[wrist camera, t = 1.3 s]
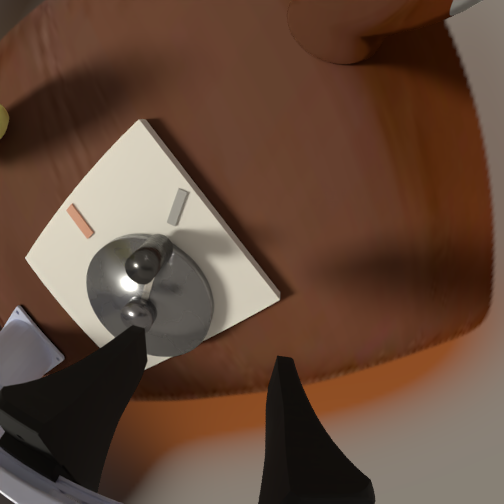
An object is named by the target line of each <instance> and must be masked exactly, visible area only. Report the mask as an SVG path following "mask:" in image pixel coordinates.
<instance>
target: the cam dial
mask: <svg viewBox="0 0 504 504" xmlns="http://www.w3.org/2000/svg"><path fill="white" fill-rule="evenodd" d="M86 287H87V294H88V298H89V301H90V304H91V306H92V308H93V311H94V312H95V314H96V316H97V318H98V319H99V320H100V322H101V323H102V325H103V326H104V327H105V328H106V329H107V330H108V331H109V332H110V333H111V334H112V335H113V336H114V337H117V336H118V335H119V334H121V333H122V332H123V331H125V330H126V329H127V328H129V327H130V326H132V325H134V326H138V327H142V328H145V337H146V349H147V354H148V355H152V356H159V357H172V356H178V355H182V354H185V353H187V352H189V351H191V350H193V349H195V348H196V347H197V346H198V345H199V344H200V343H201V342H202V341H203V340H204V338H205V336H206V335H207V333H208V330H209V327H210V324H211V321H212V318H213V313H214V301H213V295H212V291H211V288H210V285H209V283H208V280H207V278H206V277H205V275H204V273H203V272H202V270H201V269H200V267H199V266H198V265H197V264H196V262H195V261H194V260H193V259H192V258H191V257H190V256H189V255H188V254H186V253H185V252H184V251H183V250H181V249H180V248H179V247H177V246H176V245H174V244H172V242H171V241H170V239H169V238H168V237H166V236H165V235H162V234H154V235H147V234H128V235H123V236H120V237H118V238H115V239H114V240H112V241H110V242H109V243H108V244H106V245H105V246H104V247H102V248H101V249H100V250H99V251H98V252H97V253H96V254H95V255H94V257H93V258H92V260H91V262H90V264H89V267H88V271H87V276H86Z"/></svg>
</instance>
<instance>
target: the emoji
mask: <svg viewBox="0 0 504 504" xmlns="http://www.w3.org/2000/svg"><path fill="white" fill-rule="evenodd" d="M8 123H9V115H8V113H7V111H6V109H5V108H4V107H3V106H2V105H1V104H0V139H1V138H2V137H3V135H4V134H5V132H6V130H7V126H8Z"/></svg>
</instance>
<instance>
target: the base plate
mask: <svg viewBox="0 0 504 504" xmlns="http://www.w3.org/2000/svg"><path fill="white" fill-rule="evenodd" d="M128 234H147V235H154V234H162V235H165V236H166V237H168V238H169V239H170V241H171V242H172V244H174V245H176V246H177V247H179V248H180V249H181V250H183V251H184V252H185V253H186V254H188V255H189V256H190V257H191V258H192V259H193V260H194V261H195V262H196V264H197V265H198V266H199V267H200V269H201V270H202V272H203V273H204V275H205V277H206V278H207V280H208V283H209V285H210V288H211V291H212V295H213V301H214V313H213V318H212V321H211V324H210V327H209V330H208V333H207V335H206V336H205V338H204V340H206V339H208V338H210V337H212V336H214V335H216V334H218V333H220V332H222V331H224V330H226V329H228V328H229V327H231V326H233V325H235V324H237V323H239V322H241V321H243V320H244V319H246V318H248V317H250V316H252V315H254V314H255V313H257V312H259V311H261V310H263V309H265V308H266V307H268V306H270V305H272V304H274V303H275V302H277V301H279V300H280V291H279V290H278V289H277V288H276V286H275V285H274V284H273V283H272V281H271V280H270V279H269V277H268V276H267V275H266V274H265V272H264V271H263V270H262V268H261V267H260V266H259V265H258V263H257V262H256V261H255V259H254V258H253V257H252V256H251V254H250V253H249V252H248V250H247V249H246V248H245V247H244V245H243V244H242V243H241V241H240V240H239V239H238V238H237V236H236V235H235V234H234V233H233V231H232V230H231V229H230V227H229V226H228V225H227V224H226V222H225V221H224V220H223V218H222V217H221V216H220V215H219V213H218V212H217V211H216V209H215V208H214V207H213V206H212V204H211V203H210V202H209V200H208V199H207V198H206V197H205V195H204V194H203V193H202V191H201V190H200V189H199V188H198V186H197V185H196V184H195V182H194V181H193V180H192V178H191V177H190V176H189V175H188V173H187V172H186V171H185V169H184V168H183V167H182V166H181V164H180V163H179V162H178V160H177V159H176V158H175V157H174V155H173V154H172V153H171V151H170V150H169V149H168V148H167V146H166V145H165V144H164V142H163V141H162V140H161V139H160V137H159V136H158V135H157V133H156V132H155V131H154V129H153V128H152V127H151V126H150V124H149V123H148V122H147V120H146V119H139V120H138V121H137V122H136V123H135V124H134V125H133V126H132V127H131V128H130V129H129V130H128V131H127V132H126V133H125V134H124V135H123V136H122V137H121V138H120V139H119V140H118V141H117V142H116V143H115V144H114V145H113V146H112V147H111V148H110V149H109V150H108V151H107V152H106V153H105V155H104V156H103V157H102V158H101V159H100V160H99V161H98V162H97V163H96V165H95V166H94V167H93V168H92V169H91V170H90V171H89V173H88V174H87V175H86V176H85V177H84V178H83V180H82V181H81V182H80V183H79V184H78V186H77V187H76V188H75V189H74V191H73V192H72V193H71V194H70V196H69V197H68V198H67V199H66V201H65V202H64V203H63V205H62V206H61V207H60V208H59V210H58V211H57V212H56V214H55V215H54V217H53V218H52V219H51V221H50V222H49V223H48V225H47V226H46V228H45V229H44V230H43V232H42V233H41V235H40V236H39V238H38V239H37V241H36V242H35V244H34V245H33V247H32V248H31V250H30V251H29V253H28V254H27V256H26V258H25V259H26V260H27V262H28V263H29V264H30V266H31V267H32V269H33V270H34V271H35V273H36V274H37V275H38V277H39V278H40V279H41V281H42V282H43V283H44V285H45V286H46V287H47V288H48V290H49V291H50V292H51V293H52V295H53V296H54V297H55V298H56V300H57V301H58V302H59V303H60V304H61V306H62V307H63V308H64V309H65V310H66V311H67V313H68V314H69V315H70V316H71V317H72V318H73V320H74V321H75V322H76V323H77V324H78V325H79V326H80V327H81V328H82V330H83V331H84V332H85V333H86V334H87V335H88V336H89V337H90V338H91V339H92V340H93V341H94V342H95V343H96V344H97V345H98V346H99V347H100V348H101V347H103V346H104V345H105V344H107V343H108V342H110V341H111V340H112V339H114V338H115V337H114V336H113V335H112V334H111V333H110V332H109V331H108V330H107V329H106V328H105V327H104V326H103V325H102V323H101V322H100V320H99V319H98V318H97V316H96V314H95V312H94V311H93V308H92V306H91V304H90V301H89V298H88V294H87V287H86V276H87V271H88V267H89V264H90V262H91V260H92V258H93V257H94V255H95V254H96V253H97V252H98V251H99V250H100V249H101V248H102V247H104V246H105V245H106V244H108V243H109V242H110V241H112V240H114V239H115V238H118V237H120V236H123V235H128ZM204 340H203V341H204ZM172 357H173V356H172ZM168 358H171V357H159V356H152V355H148V354H147V359H148V361H147V364H146V367H145V370H146V369H148V368H150V367H152V366H154V365H156V364H158V363H160V362H162V361H164V360H166V359H168Z"/></svg>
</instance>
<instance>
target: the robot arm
mask: <svg viewBox="0 0 504 504" xmlns="http://www.w3.org/2000/svg"><path fill="white" fill-rule="evenodd" d="M64 359H65V358H64V356H63V354H62V353H61V352H60V351H59V350H58V349H57V348H56V347H55V346H54V345H53V344H52V343H51V341H50V340H49V339H48V338H47V337H46V336H45V335H44V333H43V332H42V331H41V330H40V329H39V328H38V326H37V325H36V324H35V323H34V322H33V321H32V319H31V318H30V317H29V316H28V314H27V313H26V312H25V311H24V309H23V308H22V307H21V306H20V305H18V306H17V307H16V308H15V310H14V312H13V313H12V315H11V316H10V318H9V319H8V321H7V323H6V324H5V326H4V327H3V329H2V330H1V331H0V493H2V494H3V495H4V496H5V497H7V498H8V499H9V500H11V501H12V502H14V503H15V504H79V503H78V502H80V503H82V504H122V503H120V502H117V501H114V500H112V499H109V498H107V497H104V496H102V495H100V494H97V492H98V487H99V483H100V478H101V474H102V470H103V466H104V463H105V459H106V456H107V453H108V449H109V446H110V443H111V440H112V438H113V435H114V432H115V429H116V427H117V424H118V421H119V419H120V417H121V415H122V413H123V412H124V410H125V408H126V406H127V404H128V402H129V400H130V399H131V397H132V395H133V393H134V391H135V389H136V387H137V386H138V384H139V382H140V380H141V377H142V375H143V372H144V370H145V367H146V364H147V361H148V359H147V349H146V337H145V328H142V327H138V326H134V325H132V326H130V327H129V328H127V329H126V330H125V331H123V332H122V333H121V334H119V335H118V336H117V337H115V338H114V339H112V340H111V341H110V342H108V343H107V344H105V345H104V346H103V347H101V348H100V349H98V350H97V351H95V352H94V353H92V354H90V355H89V356H87V357H86V358H84V359H82V360H81V361H79V362H77V363H75V364H73V365H71V366H69V367H67V368H65V369H63V370H61V371H58V372H56V373H53V374H51V375H48V376H46V377H43V378H41V377H42V376H43V375H44V374H45V373H47V372H48V371H50V370H51V369H52V368H54V367H55V366H56V365H58V364H59V363H61V362H62V361H63V360H64ZM67 496H68V497H67ZM73 499H74V500H75V501H74V500H73ZM76 501H77V502H76ZM258 504H375V494H374V489H373V486H372V482H371V480H370V479H369V478H368V477H367V476H366V475H364V474H363V473H362V472H361V471H360V470H359V469H358V468H357V467H356V466H354V464H353V463H351V461H350V460H349V459H348V458H347V457H346V456H345V455H344V454H343V452H342V451H341V450H340V449H339V448H338V446H337V445H336V444H335V443H334V442H333V441H332V439H331V438H330V436H329V435H328V433H327V432H326V430H325V429H324V427H323V426H322V424H321V423H320V421H319V419H318V418H317V416H316V414H315V412H314V410H313V408H312V406H311V404H310V402H309V400H308V398H307V396H306V394H305V391H304V389H303V387H302V384H301V382H300V379H299V376H298V373H297V370H296V367H295V364H294V360H293V359H292V358H290V357H283V356H277V359H276V362H275V366H274V369H273V373H272V376H271V379H270V383H269V386H268V393H267V402H266V440H265V461H264V469H263V476H262V483H261V490H260V496H259V502H258Z"/></svg>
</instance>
